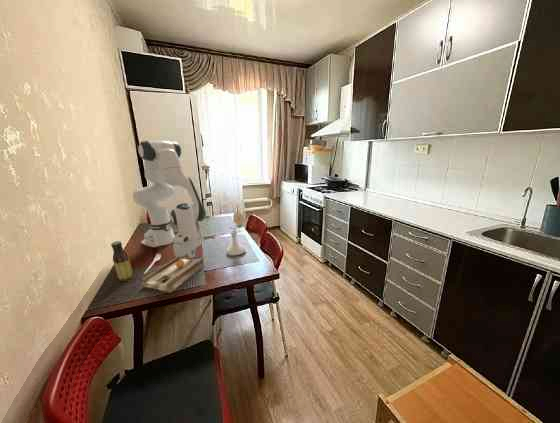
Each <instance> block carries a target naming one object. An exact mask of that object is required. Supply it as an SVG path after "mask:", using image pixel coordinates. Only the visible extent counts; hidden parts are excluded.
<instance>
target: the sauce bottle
mask: <svg viewBox="0 0 560 423" xmlns="http://www.w3.org/2000/svg"><path fill="white" fill-rule="evenodd" d="M110 245H111V248H112V250H113V251H112V252H113V254H112V263H113V265H114V269H115V271H116V275H117V278H118V280H119V282H126V281H129V280H131V279H132V278H133V277H134V274H133V269H132V266H131V262H130V259H129V256H128V253H127V252H126V251H125V250H124V248H123V243H122V241H119V240H118V241H113V242H112V243H111V244H110Z"/></svg>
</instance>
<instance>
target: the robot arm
mask: <svg viewBox="0 0 560 423" xmlns="http://www.w3.org/2000/svg"><path fill="white" fill-rule="evenodd" d="M137 148H138V149H137V150H138V154H139V156H140V158H141V159H142V160H144V178H145V179H146V180H147V181H149V182H150V183H152V184H153V185H151V186H145V187H141V188H138V189H136V190H134V191H133V192H132V193H133V194H132V199H133V202H134V203H136V204H137V205H138V206H141V207H143V208H144V209H145V211H146V212H147V213H148V216H149V218H150V219H149V220H150V223H149V224H148V227H150V228H149V229H148V230H147V232H145V233H144V235H143V236H144V239H143V240H141V242H140V243H141V245H145V246H148V247H151V248H156V247H162V246H166V245H169V244H172V243H173V245H172V246H173V247H172V248H173V253H174V256H175V258H176V257H180V258H181V259H182V258H183V257H184V256H186V255H188V257H189V259H193V258H194V257H196V249H197V248H199V246H201V245H202V244H204V243H205V237H204V233H203V231H202V229H201V228H199V227H198V228H197V225H196V223H198V222H203V221H204V220H205V218H206V215H207V214H206V209H205V207H204V205H203V203H202V201H201V199H200V196H199V193H198V192H197V189H196V187H195V184H194V182H193V180H192V179H191V178H190V177H189V176H187V174H185V172H184V170H183V167H182V164H181V160H180V158H181V156H182V148H181V146H180V144H179V143H178V142H176V141H172V140H171V141H168V140H150V141H149V140H145V141H144V140H143V141H140V143H139V144H138V147H137ZM174 187H177V188H182V189H184V190H186V192H187V193H188V195H189V199H190V201H191V202H192V205H191V204H190V203H185V202H184V203H179V204H177V205H176V206H175V208H173V209H172V210H171V211H170V216H169V211H168V209H167V208H165V207H162V206H160V205H159V203H161V202H164V201H168V200H171V199H172V198H174V197H175V194H176V190H175V188H174ZM170 218H171V219H170ZM172 224H173V225H176V226H178V232H177V233H176V234H174V230H173V227H172Z"/></svg>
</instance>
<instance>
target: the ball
mask: <svg viewBox="0 0 560 423" xmlns="http://www.w3.org/2000/svg"><path fill="white" fill-rule="evenodd" d="M183 266H184V262H183V261H182V260H178V261H177V262H176V267H178V268H181V267H183Z"/></svg>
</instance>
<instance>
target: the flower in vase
mask: <svg viewBox="0 0 560 423" xmlns="http://www.w3.org/2000/svg"><path fill="white" fill-rule="evenodd" d="M232 219H233V222H234V223H235V224H236V225H235V227H231V226H229V228H230V229H232V230H230V231H229V233H230V235H231V238H232V243H231V244H230V245H229V246H228V247H227V248H226V251H225V253H226V254H227V255H229V256H240V255H242V254H243V253H245V251H246V247H245V246H243V245H242V244H240V243H238V241H237V240H238V239H237V236H238V235H237V234H238V232H239V230H237V229H236V228H238V229H241V228H243V227H244V224H245V222H246V217H245V215H244V214H243V213H242V212H239V211H238V212H235V213H234V214H233V216H232Z"/></svg>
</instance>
